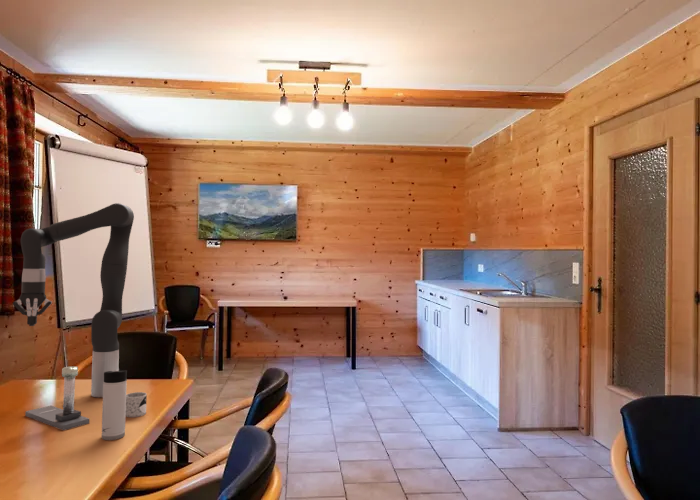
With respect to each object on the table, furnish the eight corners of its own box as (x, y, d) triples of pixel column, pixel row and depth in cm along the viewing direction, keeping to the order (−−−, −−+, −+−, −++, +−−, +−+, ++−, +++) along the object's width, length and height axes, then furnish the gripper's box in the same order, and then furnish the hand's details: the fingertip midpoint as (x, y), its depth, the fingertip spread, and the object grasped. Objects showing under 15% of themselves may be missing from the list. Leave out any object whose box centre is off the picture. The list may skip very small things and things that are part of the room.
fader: (54, 419, 149) (56, 368, 149) (74, 414, 154) (75, 365, 154) (62, 421, 146) (64, 370, 147) (81, 416, 151) (83, 367, 152)
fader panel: (25, 415, 156) (25, 411, 156) (50, 409, 163) (50, 405, 163) (63, 430, 144) (63, 425, 144) (89, 423, 151) (89, 418, 151)
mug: (143, 417, 158) (144, 397, 158) (122, 417, 157) (123, 397, 157) (149, 407, 168) (150, 389, 168) (130, 408, 166) (130, 389, 167)
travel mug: (101, 442, 135) (103, 372, 136) (101, 434, 141) (103, 368, 142) (125, 438, 138) (127, 371, 139) (124, 431, 144) (126, 366, 145)
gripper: (10, 280, 173) (8, 327, 173) (52, 281, 179) (50, 326, 178) (15, 280, 180) (13, 325, 180) (55, 280, 186) (53, 324, 185)
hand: (32, 325), depth 179 cm, fingers closed
